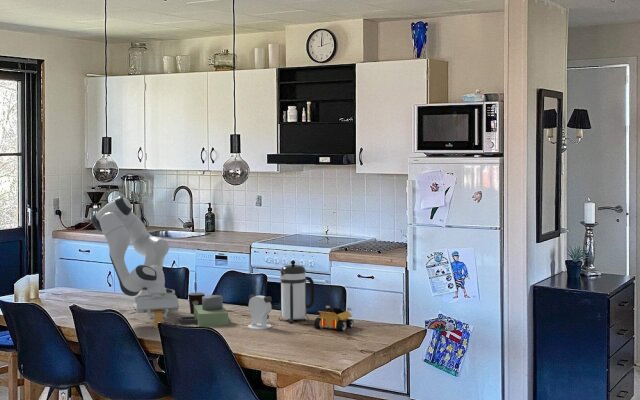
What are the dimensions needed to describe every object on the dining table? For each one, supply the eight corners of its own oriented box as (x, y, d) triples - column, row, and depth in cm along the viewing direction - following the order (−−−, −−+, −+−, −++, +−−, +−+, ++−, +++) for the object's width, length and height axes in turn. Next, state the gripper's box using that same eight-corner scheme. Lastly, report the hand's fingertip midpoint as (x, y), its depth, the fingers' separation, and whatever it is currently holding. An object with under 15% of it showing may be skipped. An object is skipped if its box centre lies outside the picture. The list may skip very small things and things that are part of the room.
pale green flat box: (178, 318, 424) (177, 294, 423) (221, 315, 430) (221, 292, 429) (182, 327, 401) (182, 302, 400) (228, 324, 406) (227, 300, 406)
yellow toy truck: (355, 327, 399) (355, 305, 399) (340, 333, 387) (340, 310, 386) (328, 324, 407) (328, 302, 406) (312, 329, 394) (312, 307, 394)
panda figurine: (277, 326, 403) (276, 295, 402) (262, 330, 393) (262, 298, 392) (257, 323, 409) (257, 292, 408) (242, 327, 400) (242, 296, 399)
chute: (153, 326, 404) (153, 310, 403) (162, 326, 405) (162, 309, 404) (154, 328, 400) (154, 311, 399) (163, 327, 401) (162, 311, 400)
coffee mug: (185, 313, 436) (184, 294, 436) (195, 310, 444) (194, 291, 443) (203, 315, 431) (203, 296, 430) (213, 312, 438) (212, 293, 438)
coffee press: (307, 323, 407) (306, 262, 405) (275, 322, 410) (274, 261, 408) (314, 316, 424) (314, 258, 422) (283, 316, 427) (283, 257, 425)
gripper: (135, 292, 405) (136, 315, 396) (177, 290, 410) (179, 313, 401) (134, 299, 410) (136, 323, 401) (177, 297, 415) (179, 320, 406)
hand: (158, 318), depth 401 cm, fingers open, 5 cm apart
